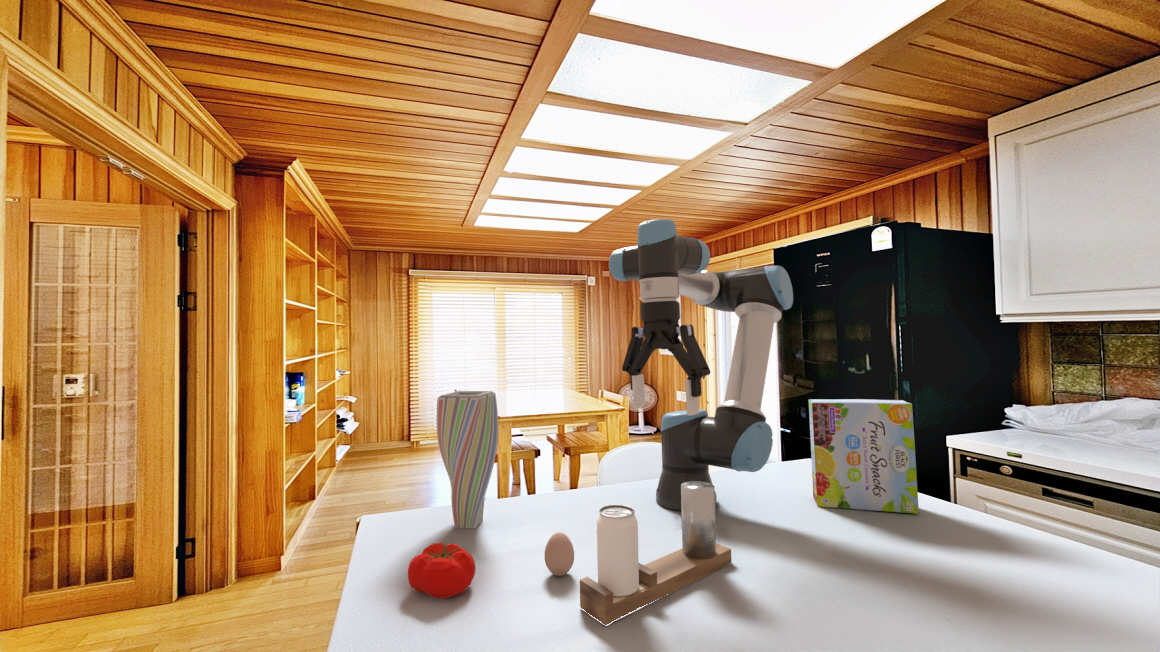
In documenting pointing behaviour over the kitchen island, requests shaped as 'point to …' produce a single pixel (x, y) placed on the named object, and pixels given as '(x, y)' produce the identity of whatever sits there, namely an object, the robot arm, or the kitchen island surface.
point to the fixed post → (698, 520)
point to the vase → (468, 449)
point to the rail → (650, 583)
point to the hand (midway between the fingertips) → (664, 410)
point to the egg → (559, 554)
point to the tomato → (441, 570)
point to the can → (618, 550)
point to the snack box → (863, 454)
